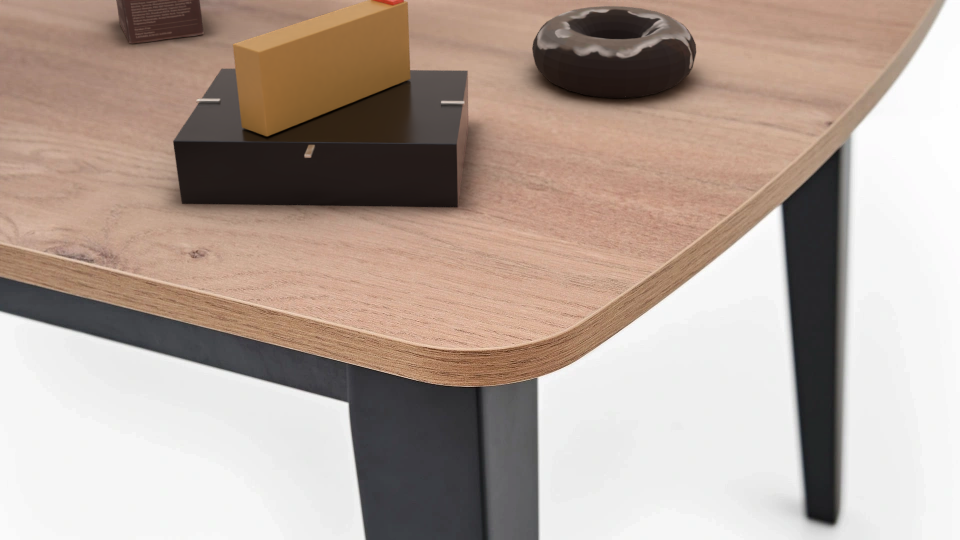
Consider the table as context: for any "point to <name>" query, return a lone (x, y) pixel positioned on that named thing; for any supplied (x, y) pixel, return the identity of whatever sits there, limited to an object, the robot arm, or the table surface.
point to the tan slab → (321, 64)
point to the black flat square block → (331, 149)
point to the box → (159, 19)
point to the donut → (614, 51)
